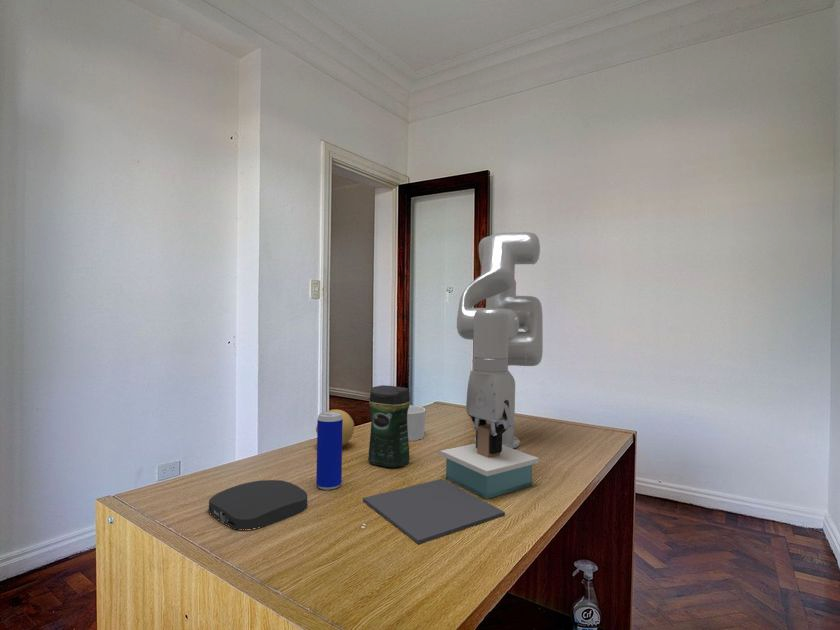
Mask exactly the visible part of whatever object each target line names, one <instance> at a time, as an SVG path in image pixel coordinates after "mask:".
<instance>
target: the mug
mask: <svg viewBox="0 0 840 630" xmlns="http://www.w3.org/2000/svg"><path fill="white" fill-rule="evenodd" d="M426 415H427V414H426V408H425V407H422V406H419V405H411V404H410V406H409V408H408V414H407V427H408V441H409V442H414V441H413V440H416V441H420V440H422V439H424V438H423V437H425V430H426V428H425V427H426ZM419 439H420V440H419Z"/></svg>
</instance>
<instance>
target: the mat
mask: <svg viewBox="0 0 840 630" xmlns="http://www.w3.org/2000/svg"><path fill="white" fill-rule="evenodd" d="M362 502H363V503H365V504H366V505H367V506H368V507H370V508H371V509H372V510H374V511H375V512H376V513H378V515H380V516H381V517H383V518H384V519H385V520H387V522H389V523H390V524H391V525H393V526H394V527H395V528H397V529H398V530H399V531H400V532H402V533H403V534H404V535H406V536H407V537H408V538H409V539H411V540H412V541H413V542H414V543H416V544H417V545H420V544H423V543H425V542H426V543H427V542H429V541H432V540H434V539H435V540H436V539H438V538H441V537H444V536H447V535H450V534H453V533H456V532H459V531H462V530H464V529H467V528H471V527H474V526H477V525H480V524H483V523H486V522H488V521H491V520H495V519H498V518H501V517H504V516H506V512H505V511H504V510H502V509H501V508H498V507H497V506H494V505H492V504H491V503H488V501H485V500H483V499H480V498H479V497H477V496H476V495H473V494H471V493H470V492H469V491H466V490H464V489H462V488H460V487H458V486H456V485H454V484H452V483H451V482H448V481H446V480H445V479H443V478H439V479H436V480H431V481H426V482H423V483H420V484H414V485H409V486H406V487H403V488H398V489H394V490H389V491H386V492H382V493H378V494H373V495H369V496H366V497H362Z"/></svg>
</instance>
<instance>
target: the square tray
mask: <svg viewBox="0 0 840 630" xmlns="http://www.w3.org/2000/svg"><path fill="white" fill-rule="evenodd" d="M445 459H446V460H445V463H446V465H445V469H446V470H445V472H446V473H445V478H446V480H449V481H451V482H453V483H455V484H456V485H459V486H460V487H463V488H464V489H465V490H468V491H470V492H471V493H474V494H475V495H478V496H480V497H481V498H484V499H486V500H488V499H492V498H495V497H498V496H502V495H505V494H509V493H512V492H515V491H519V490H522V489H526V488H529V487H531V486H532V483H533V482H532V480H533V479H532V478H533V465H529V466H525V467H521V468H517V469H513V470H509V471H506V472H502V473H498V474H494V475H490V476H485V475H483V474H480V473H478V472H476V471H474V470H472V469H469V468H467V467H465V466H463V465H461V464H458V463H456V462H454V461H452V460H450V459H447V458H445Z"/></svg>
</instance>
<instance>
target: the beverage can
mask: <svg viewBox="0 0 840 630" xmlns="http://www.w3.org/2000/svg"><path fill="white" fill-rule="evenodd" d="M316 422H317V424H316V427H317V432H316V476H315V477H316V478H315V479H316V482H315V485H316V486H317V487H318V488H319V489H320V490H324V491H333V490H335V489H338V488H339V487H340V486H341V484H342V481H343V480H342V478H343V477H342V476H343V474H342V473H343V471H342V470H343V469H342V468H343V446H342V426H343V418H342V415H341V413H339V412H328V411H325V412H320V413H319V414H318V416H317V421H316Z"/></svg>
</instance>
